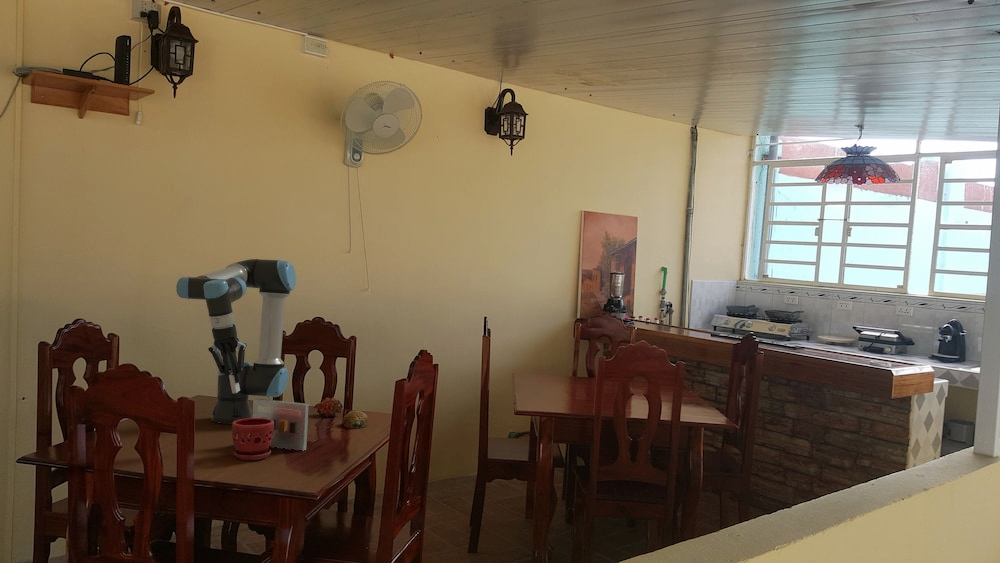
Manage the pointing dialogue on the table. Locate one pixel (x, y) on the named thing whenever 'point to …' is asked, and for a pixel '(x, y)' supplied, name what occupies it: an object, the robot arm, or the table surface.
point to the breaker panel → (284, 422)
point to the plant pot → (252, 438)
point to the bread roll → (355, 419)
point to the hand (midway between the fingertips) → (236, 391)
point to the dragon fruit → (329, 407)
